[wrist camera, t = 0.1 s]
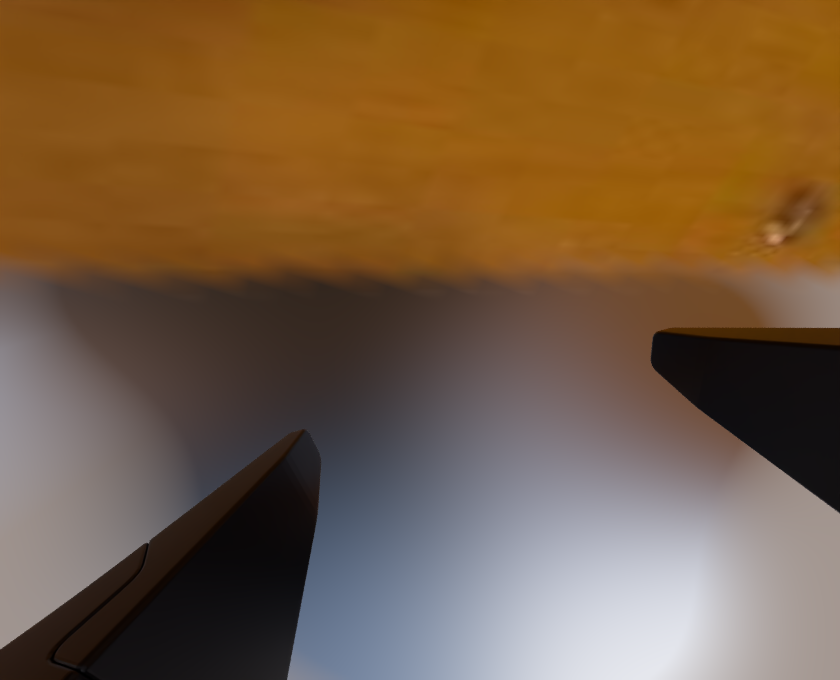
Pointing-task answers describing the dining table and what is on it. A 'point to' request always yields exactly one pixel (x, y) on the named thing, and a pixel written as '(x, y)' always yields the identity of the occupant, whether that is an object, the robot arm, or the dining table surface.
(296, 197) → the dining table surface
